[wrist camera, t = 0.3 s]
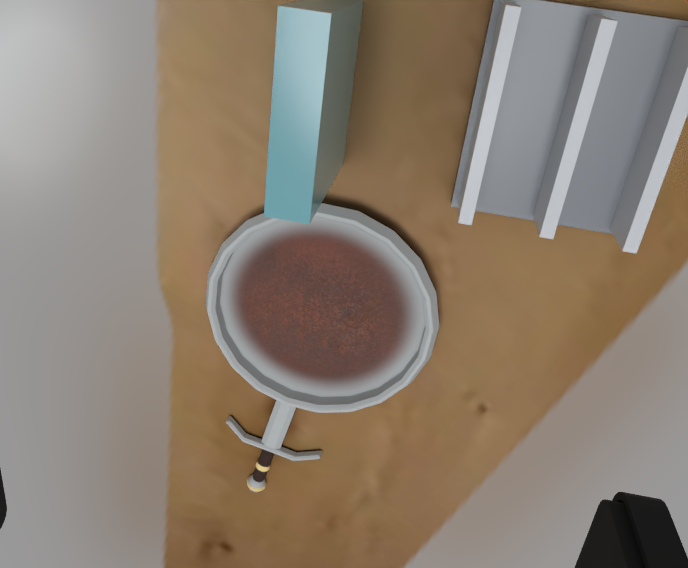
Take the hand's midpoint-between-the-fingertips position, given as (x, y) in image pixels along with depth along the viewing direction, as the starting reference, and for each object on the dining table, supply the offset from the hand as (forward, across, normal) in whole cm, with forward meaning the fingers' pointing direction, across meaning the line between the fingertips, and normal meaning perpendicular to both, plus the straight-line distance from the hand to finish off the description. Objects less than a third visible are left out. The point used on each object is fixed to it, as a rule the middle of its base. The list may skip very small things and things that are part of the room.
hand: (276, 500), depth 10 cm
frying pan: (+35, +5, +21) cm, 41 cm away
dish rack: (+34, -9, 0) cm, 35 cm away
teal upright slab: (+34, +5, 0) cm, 34 cm away
